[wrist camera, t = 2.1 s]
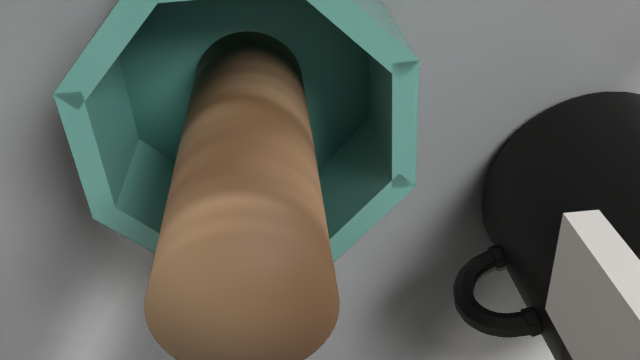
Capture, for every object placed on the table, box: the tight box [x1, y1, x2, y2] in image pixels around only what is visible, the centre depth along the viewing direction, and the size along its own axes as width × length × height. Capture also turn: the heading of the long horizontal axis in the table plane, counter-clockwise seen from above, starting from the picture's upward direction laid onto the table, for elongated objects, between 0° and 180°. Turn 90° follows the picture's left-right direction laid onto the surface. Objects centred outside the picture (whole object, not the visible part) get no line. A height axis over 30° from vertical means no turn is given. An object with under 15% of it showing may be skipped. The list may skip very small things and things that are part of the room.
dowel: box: [145, 31, 339, 360], centre depth 18 cm, size 4×4×12 cm
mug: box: [454, 92, 640, 360], centre depth 24 cm, size 9×12×9 cm
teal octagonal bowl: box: [53, 0, 419, 263], centre depth 21 cm, size 11×11×6 cm
